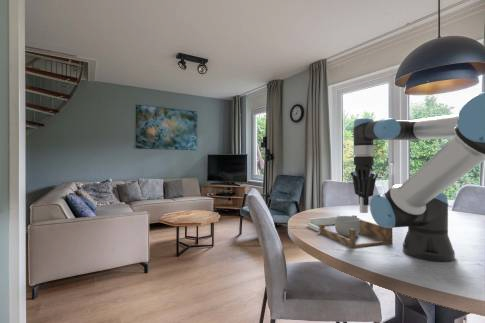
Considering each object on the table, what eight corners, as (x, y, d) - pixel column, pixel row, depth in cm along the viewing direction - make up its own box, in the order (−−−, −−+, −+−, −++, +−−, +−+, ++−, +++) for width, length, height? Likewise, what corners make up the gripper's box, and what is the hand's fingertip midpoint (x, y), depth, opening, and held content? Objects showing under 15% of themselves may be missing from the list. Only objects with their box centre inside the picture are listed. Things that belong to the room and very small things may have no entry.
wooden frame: (392, 243, 103) (392, 226, 103) (352, 248, 98) (352, 230, 98) (354, 229, 124) (354, 215, 124) (319, 232, 119) (319, 218, 119)
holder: (351, 228, 126) (351, 220, 126) (317, 231, 121) (317, 223, 121) (337, 223, 136) (337, 216, 136) (306, 226, 131) (306, 218, 131)
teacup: (364, 239, 109) (364, 220, 109) (339, 239, 109) (339, 220, 109) (351, 230, 123) (351, 214, 123) (329, 230, 123) (329, 214, 123)
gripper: (383, 155, 100) (383, 215, 100) (359, 156, 112) (359, 209, 112) (367, 155, 98) (368, 216, 98) (345, 156, 110) (345, 210, 110)
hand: (363, 212), depth 105 cm, fingers closed
